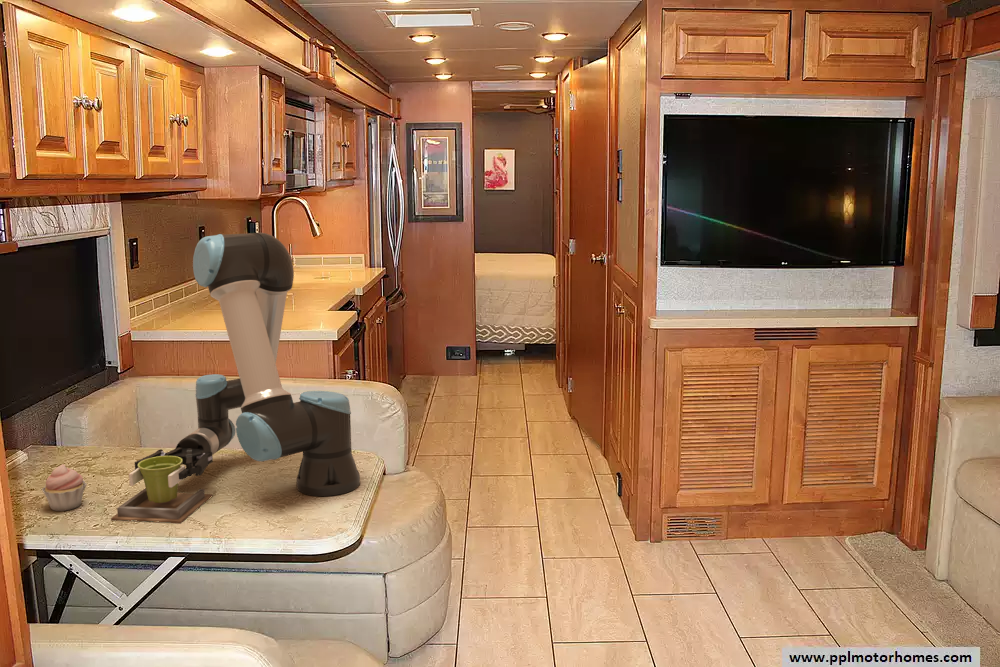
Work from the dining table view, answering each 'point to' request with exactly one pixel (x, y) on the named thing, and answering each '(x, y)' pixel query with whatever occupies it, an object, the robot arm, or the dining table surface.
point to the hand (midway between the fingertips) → (150, 480)
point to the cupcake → (64, 489)
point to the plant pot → (159, 477)
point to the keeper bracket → (161, 507)
